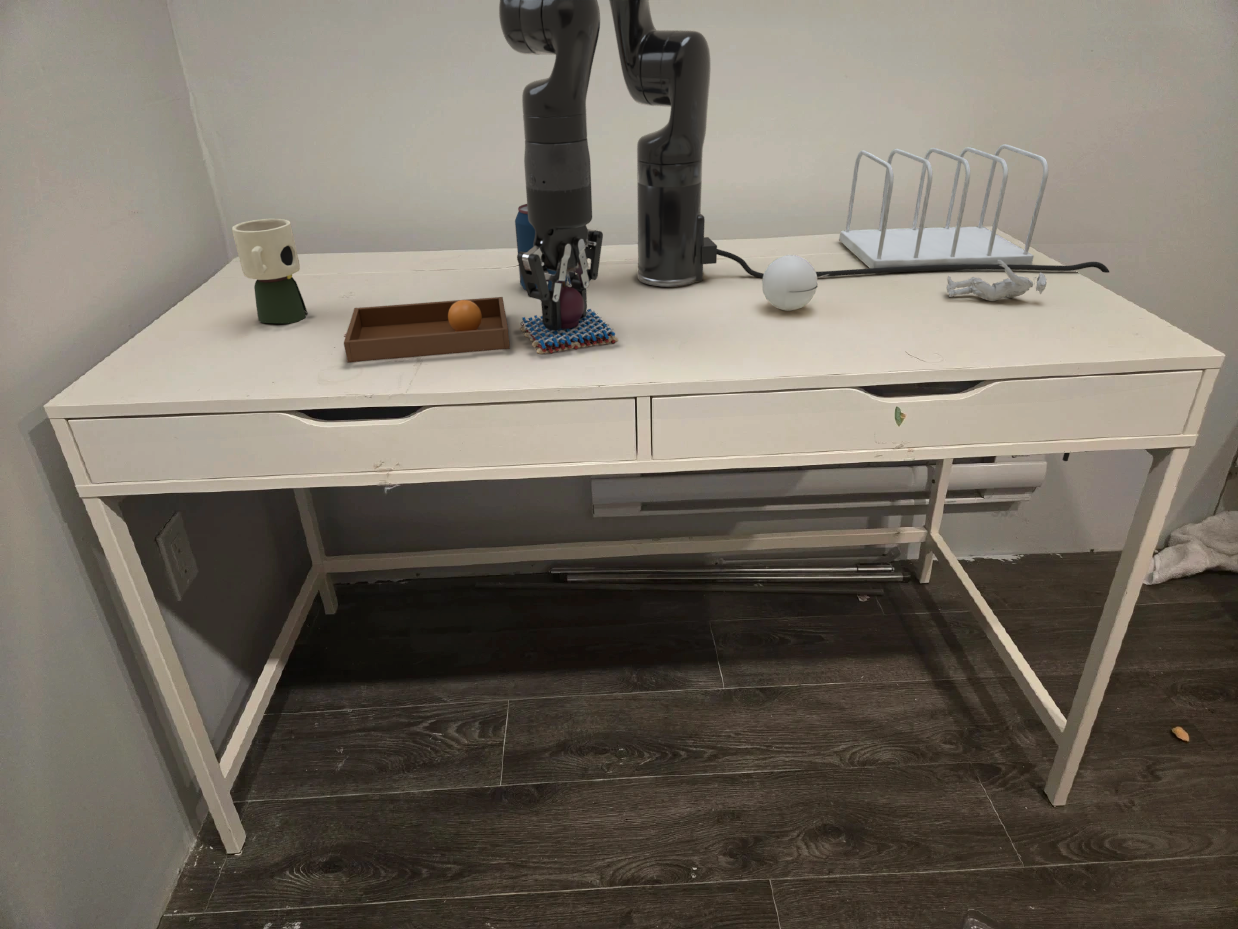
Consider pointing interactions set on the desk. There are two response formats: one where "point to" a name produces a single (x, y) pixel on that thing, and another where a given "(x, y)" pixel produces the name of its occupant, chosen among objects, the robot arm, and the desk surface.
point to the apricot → (464, 316)
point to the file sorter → (941, 241)
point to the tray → (422, 331)
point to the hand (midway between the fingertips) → (565, 322)
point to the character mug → (271, 268)
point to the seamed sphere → (789, 282)
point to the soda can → (526, 239)
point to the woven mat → (568, 334)
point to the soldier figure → (996, 286)
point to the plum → (570, 306)
